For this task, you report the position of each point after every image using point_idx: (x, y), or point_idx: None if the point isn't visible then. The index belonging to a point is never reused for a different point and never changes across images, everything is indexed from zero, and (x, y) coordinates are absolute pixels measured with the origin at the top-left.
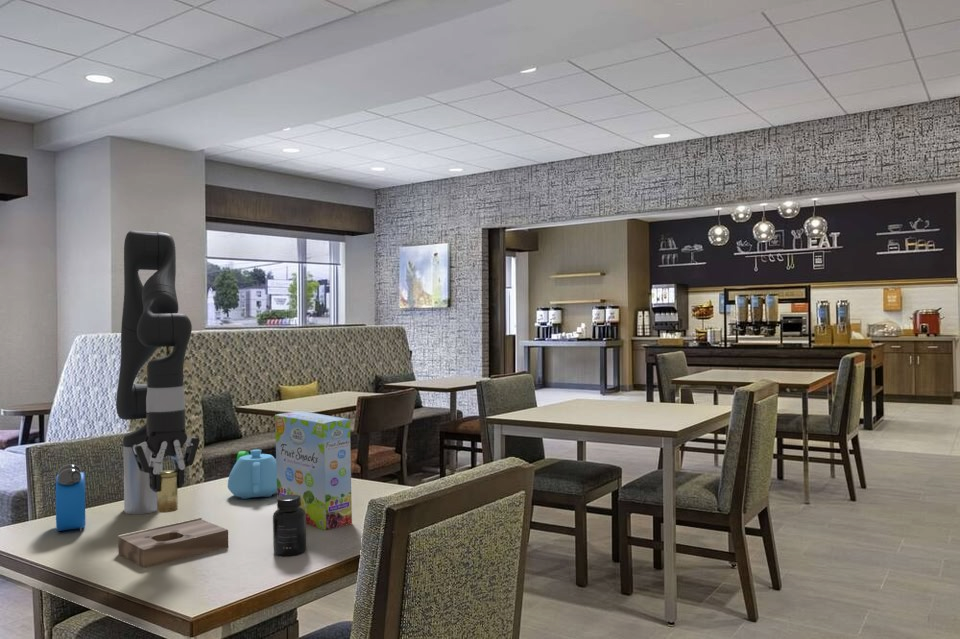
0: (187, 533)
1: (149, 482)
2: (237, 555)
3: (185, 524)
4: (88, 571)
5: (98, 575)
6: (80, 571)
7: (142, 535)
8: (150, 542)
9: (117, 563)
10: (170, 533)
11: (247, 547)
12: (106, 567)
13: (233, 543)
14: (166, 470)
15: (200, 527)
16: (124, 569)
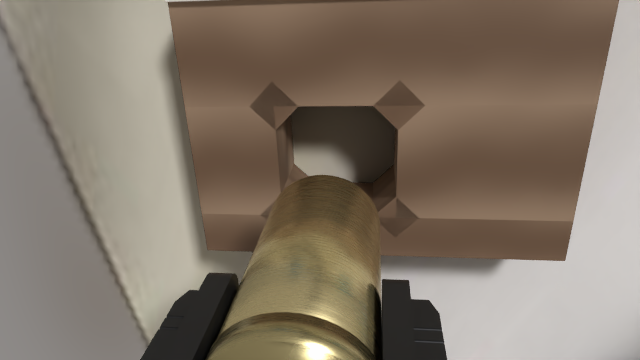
0: (419, 182)
1: (162, 323)
2: (507, 302)
3: (498, 25)
4: (79, 91)
5: (103, 156)
6: (56, 70)
7: (260, 57)
8: (254, 186)
9: (175, 80)
10: (375, 107)
11: (589, 259)
12: (136, 95)
13: (594, 182)
14: (316, 347)
15: (513, 137)
16: (181, 162)
